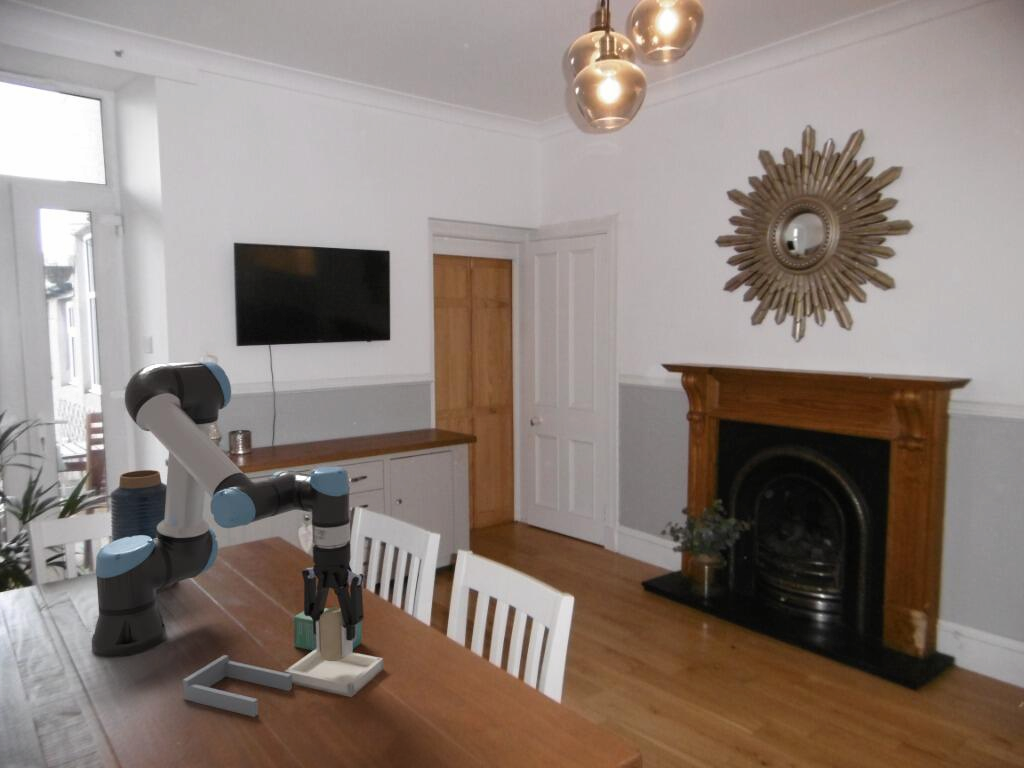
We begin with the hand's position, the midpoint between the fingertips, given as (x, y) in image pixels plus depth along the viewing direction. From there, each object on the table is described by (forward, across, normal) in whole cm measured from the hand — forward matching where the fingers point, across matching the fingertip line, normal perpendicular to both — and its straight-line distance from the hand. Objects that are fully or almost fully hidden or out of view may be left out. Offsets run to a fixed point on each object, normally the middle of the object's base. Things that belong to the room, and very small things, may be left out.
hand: (334, 651), depth 150 cm
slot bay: (+5, -13, -13) cm, 19 cm away
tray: (+5, 0, 0) cm, 5 cm away
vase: (+5, -78, +23) cm, 82 cm away
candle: (+1, 0, 0) cm, 1 cm away
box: (+6, -9, +11) cm, 16 cm away
